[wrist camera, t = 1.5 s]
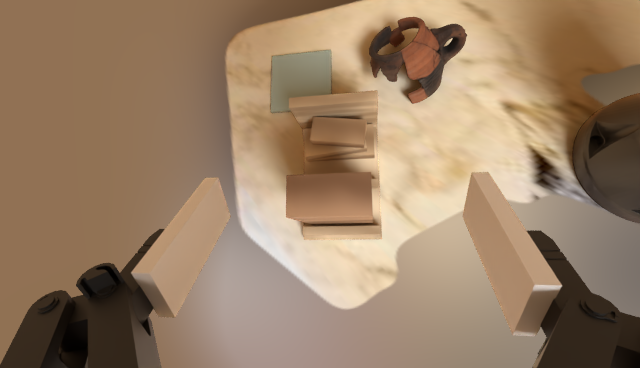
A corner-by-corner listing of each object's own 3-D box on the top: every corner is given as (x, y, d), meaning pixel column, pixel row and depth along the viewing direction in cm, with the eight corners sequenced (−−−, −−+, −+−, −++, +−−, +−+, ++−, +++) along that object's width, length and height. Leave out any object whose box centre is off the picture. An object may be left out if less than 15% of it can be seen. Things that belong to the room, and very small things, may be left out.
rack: (381, 239, 40) (383, 238, 31) (305, 239, 41) (287, 239, 32) (376, 121, 43) (377, 90, 34) (306, 126, 44) (289, 98, 35)
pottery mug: (395, 119, 43) (372, 76, 37) (378, 81, 49) (356, 39, 43) (484, 73, 39) (473, 17, 33) (454, 37, 45) (440, -16, 39)
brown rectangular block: (373, 223, 39) (372, 215, 27) (311, 224, 40) (286, 217, 29) (371, 192, 40) (371, 171, 28) (311, 194, 41) (286, 175, 30)
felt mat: (331, 108, 44) (331, 106, 44) (271, 112, 46) (270, 111, 45) (330, 51, 46) (330, 49, 45) (272, 57, 47) (272, 56, 47)
